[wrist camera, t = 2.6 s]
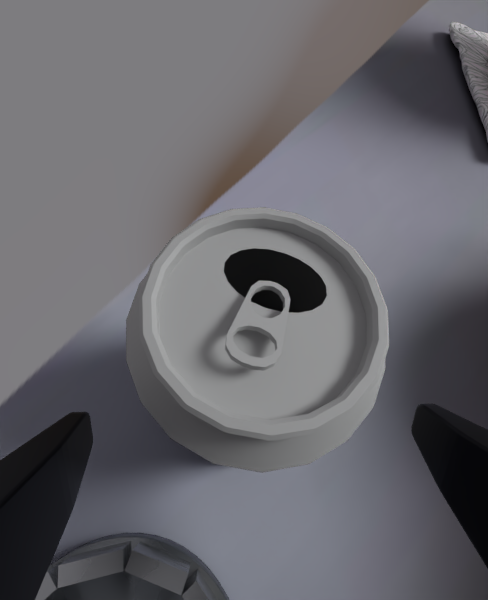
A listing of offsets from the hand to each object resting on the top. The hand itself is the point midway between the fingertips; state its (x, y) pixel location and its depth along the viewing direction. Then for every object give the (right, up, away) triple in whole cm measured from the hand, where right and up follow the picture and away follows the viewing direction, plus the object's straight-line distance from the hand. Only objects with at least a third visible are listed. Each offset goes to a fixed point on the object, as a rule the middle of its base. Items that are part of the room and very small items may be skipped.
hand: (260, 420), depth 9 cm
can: (-1, -2, +10) cm, 10 cm away
